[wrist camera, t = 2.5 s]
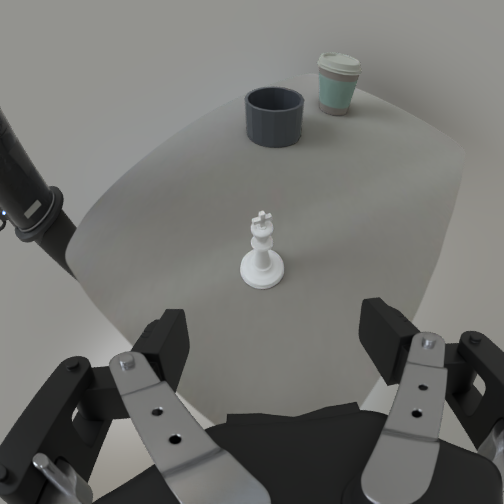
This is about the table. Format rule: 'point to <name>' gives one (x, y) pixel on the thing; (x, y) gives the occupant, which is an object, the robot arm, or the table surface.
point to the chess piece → (262, 256)
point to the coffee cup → (337, 82)
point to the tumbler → (274, 116)
